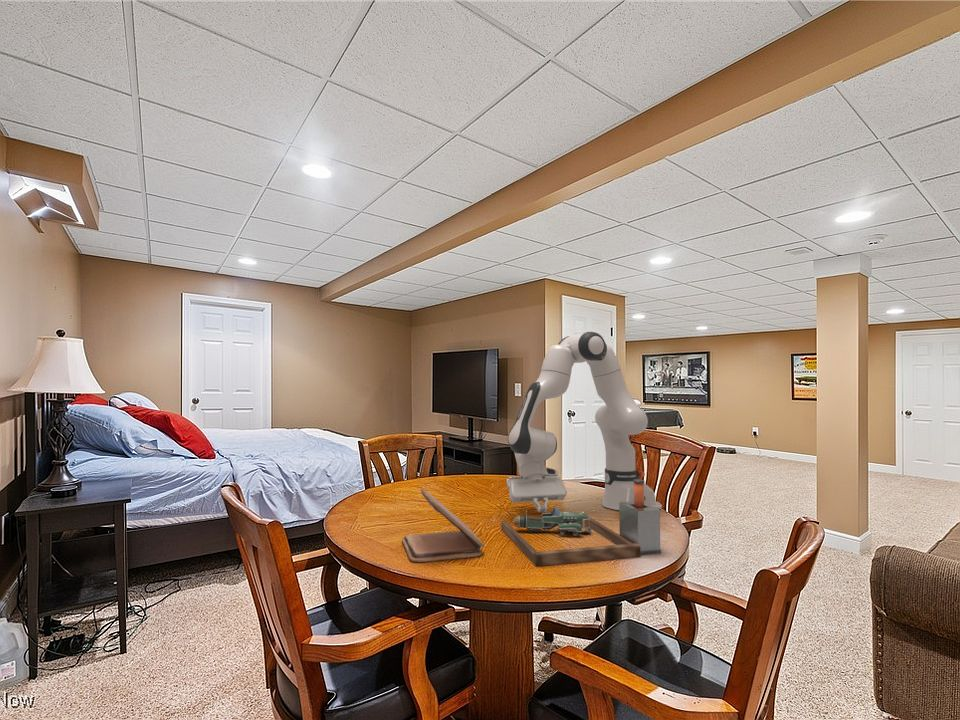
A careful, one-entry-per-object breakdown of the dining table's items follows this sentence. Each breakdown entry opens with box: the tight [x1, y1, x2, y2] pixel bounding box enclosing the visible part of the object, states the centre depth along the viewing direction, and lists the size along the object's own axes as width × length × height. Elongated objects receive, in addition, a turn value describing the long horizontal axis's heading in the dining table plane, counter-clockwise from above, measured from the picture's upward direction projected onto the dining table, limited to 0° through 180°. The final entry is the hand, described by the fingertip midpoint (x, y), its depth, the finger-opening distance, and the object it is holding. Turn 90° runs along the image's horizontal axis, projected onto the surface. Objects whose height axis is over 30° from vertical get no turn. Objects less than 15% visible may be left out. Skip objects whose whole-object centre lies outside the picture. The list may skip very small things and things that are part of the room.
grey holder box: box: [618, 502, 662, 556], centre depth 140 cm, size 7×10×12 cm
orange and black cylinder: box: [633, 479, 646, 508], centre depth 141 cm, size 3×3×8 cm
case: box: [401, 488, 485, 563], centre depth 140 cm, size 20×21×16 cm
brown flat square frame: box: [500, 517, 642, 567], centre depth 145 cm, size 30×32×3 cm
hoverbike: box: [511, 506, 592, 537], centre depth 154 cm, size 10×25×8 cm, turn 86°
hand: (542, 511), depth 163 cm, fingers closed
